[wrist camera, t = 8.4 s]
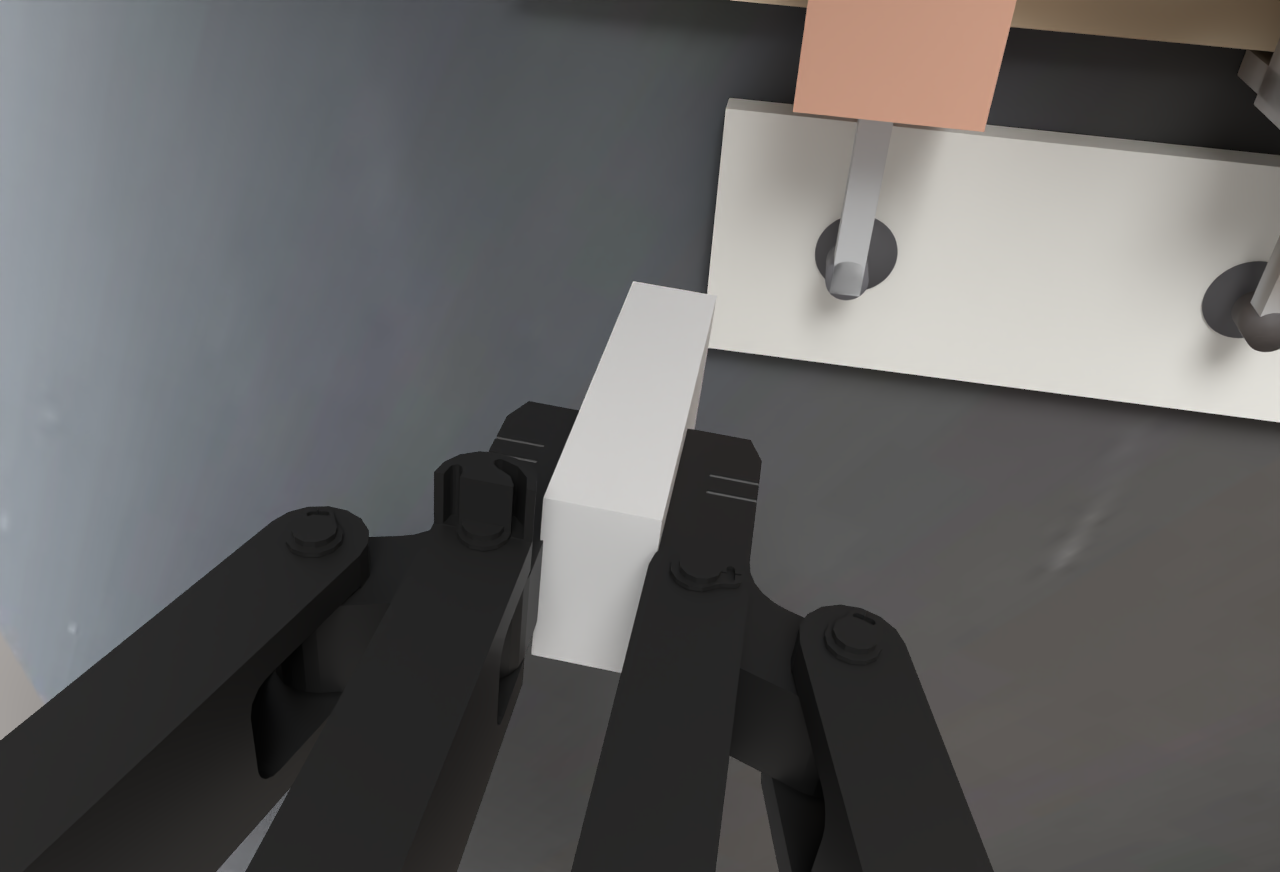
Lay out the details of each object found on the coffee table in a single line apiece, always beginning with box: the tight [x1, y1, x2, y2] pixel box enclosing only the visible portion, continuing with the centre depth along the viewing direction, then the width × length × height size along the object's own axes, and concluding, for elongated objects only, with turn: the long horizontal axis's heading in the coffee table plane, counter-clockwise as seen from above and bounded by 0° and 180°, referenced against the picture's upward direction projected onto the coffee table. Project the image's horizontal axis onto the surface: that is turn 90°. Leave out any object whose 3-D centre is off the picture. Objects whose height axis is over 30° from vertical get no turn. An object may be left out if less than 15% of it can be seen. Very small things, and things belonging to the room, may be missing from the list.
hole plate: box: [707, 98, 1280, 422], centre depth 36 cm, size 9×22×1 cm, turn 87°
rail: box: [732, 0, 1280, 352], centre depth 31 cm, size 13×29×7 cm, turn 87°
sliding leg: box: [793, 0, 1017, 300], centre depth 30 cm, size 13×5×6 cm, turn 177°
